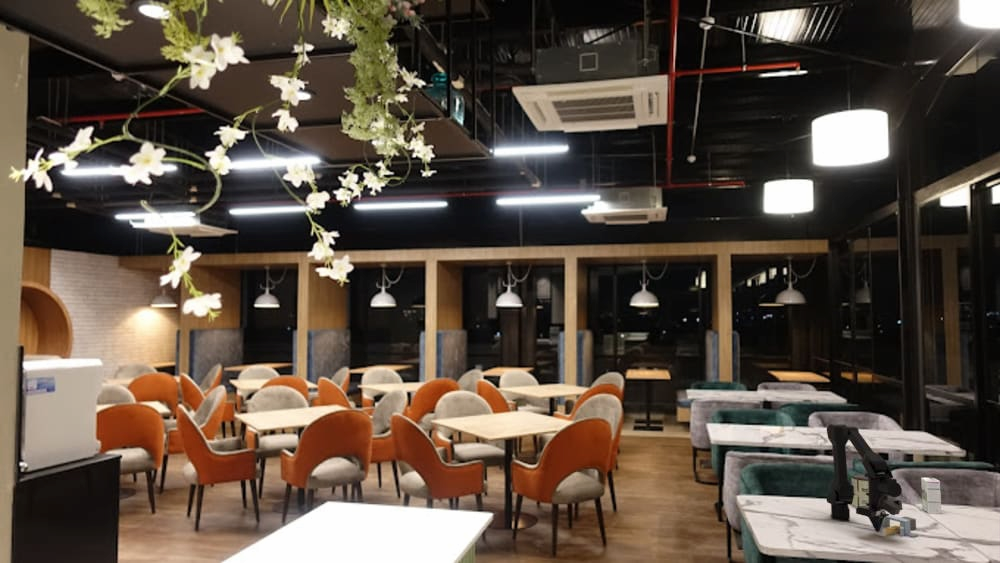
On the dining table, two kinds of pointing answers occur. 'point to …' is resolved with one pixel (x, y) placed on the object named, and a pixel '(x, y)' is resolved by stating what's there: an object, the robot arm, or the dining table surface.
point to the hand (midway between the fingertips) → (877, 531)
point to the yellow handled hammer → (896, 527)
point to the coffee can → (860, 490)
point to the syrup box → (931, 495)
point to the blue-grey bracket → (903, 525)
